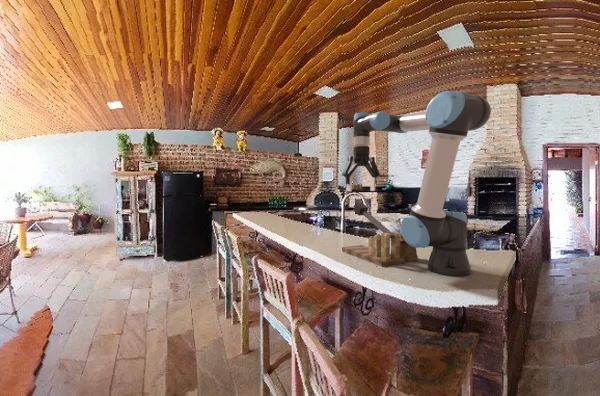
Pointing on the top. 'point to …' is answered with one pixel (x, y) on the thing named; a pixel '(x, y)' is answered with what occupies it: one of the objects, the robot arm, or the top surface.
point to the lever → (370, 217)
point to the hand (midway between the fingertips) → (361, 191)
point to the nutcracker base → (379, 250)
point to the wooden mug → (407, 251)
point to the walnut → (377, 236)
